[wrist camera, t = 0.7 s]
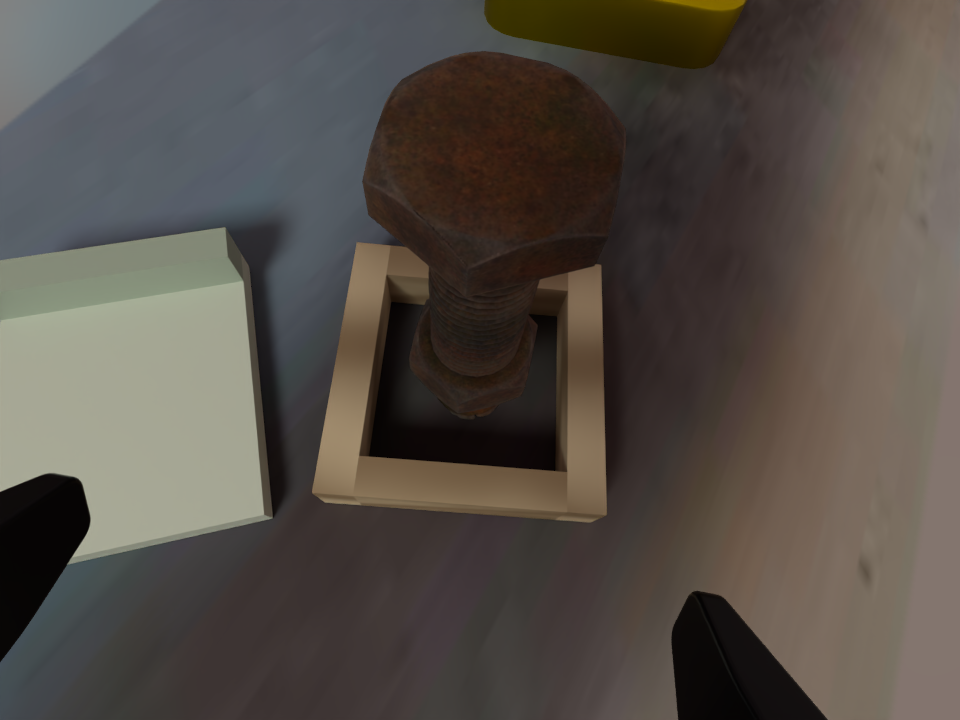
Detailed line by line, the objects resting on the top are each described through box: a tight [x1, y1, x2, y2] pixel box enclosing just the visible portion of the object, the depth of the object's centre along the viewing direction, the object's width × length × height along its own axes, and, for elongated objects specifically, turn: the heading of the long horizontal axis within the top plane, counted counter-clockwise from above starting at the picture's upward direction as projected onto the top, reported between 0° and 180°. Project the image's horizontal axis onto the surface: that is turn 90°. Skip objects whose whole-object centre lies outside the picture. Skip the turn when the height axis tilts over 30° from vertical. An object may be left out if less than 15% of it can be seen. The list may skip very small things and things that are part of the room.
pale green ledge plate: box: [0, 227, 273, 564], centre depth 22 cm, size 12×10×3 cm
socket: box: [312, 242, 607, 522], centre depth 24 cm, size 11×11×2 cm
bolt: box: [362, 51, 626, 419], centre depth 18 cm, size 6×5×15 cm
